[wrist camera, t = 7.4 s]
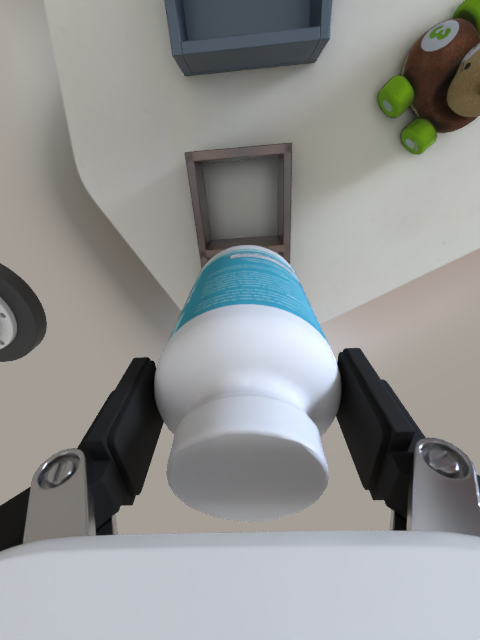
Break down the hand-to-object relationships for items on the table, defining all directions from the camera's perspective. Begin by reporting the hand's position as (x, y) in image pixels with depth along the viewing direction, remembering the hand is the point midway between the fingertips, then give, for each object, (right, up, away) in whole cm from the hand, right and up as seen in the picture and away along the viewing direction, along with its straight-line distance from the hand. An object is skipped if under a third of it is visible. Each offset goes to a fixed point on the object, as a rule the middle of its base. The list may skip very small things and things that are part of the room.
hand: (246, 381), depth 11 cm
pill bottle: (0, +5, +8) cm, 10 cm away
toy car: (+19, +26, +15) cm, 35 cm away
